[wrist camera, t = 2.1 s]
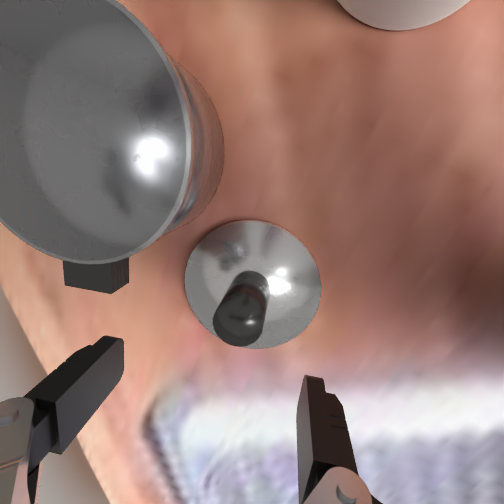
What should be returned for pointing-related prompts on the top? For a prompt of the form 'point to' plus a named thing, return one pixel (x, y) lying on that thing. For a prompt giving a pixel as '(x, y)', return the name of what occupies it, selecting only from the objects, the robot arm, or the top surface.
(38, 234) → the pot
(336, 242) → the top surface
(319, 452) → the robot arm
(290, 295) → the lid
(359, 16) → the container
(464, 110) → the top surface
